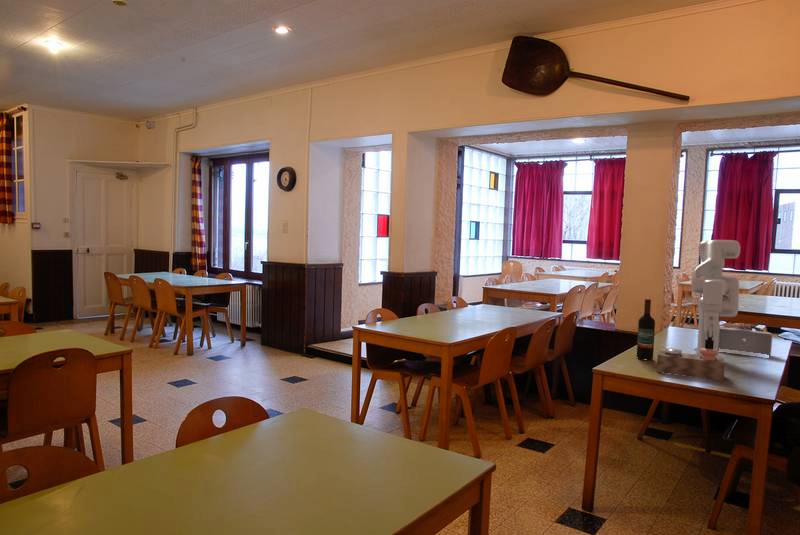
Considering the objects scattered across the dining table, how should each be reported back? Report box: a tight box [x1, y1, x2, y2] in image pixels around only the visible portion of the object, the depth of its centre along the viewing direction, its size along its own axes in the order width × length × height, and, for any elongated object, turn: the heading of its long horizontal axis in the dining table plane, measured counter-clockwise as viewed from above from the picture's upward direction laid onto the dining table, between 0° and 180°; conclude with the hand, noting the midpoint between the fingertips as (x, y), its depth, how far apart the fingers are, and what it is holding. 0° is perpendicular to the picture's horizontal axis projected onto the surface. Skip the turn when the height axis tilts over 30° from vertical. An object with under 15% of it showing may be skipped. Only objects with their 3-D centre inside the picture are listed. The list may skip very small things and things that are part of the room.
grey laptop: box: [719, 326, 773, 359], centre depth 287 cm, size 25×16×12 cm, turn 53°
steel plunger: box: [664, 347, 683, 356], centre depth 244 cm, size 7×7×9 cm
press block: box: [656, 349, 726, 382], centre depth 241 cm, size 26×11×8 cm, turn 61°
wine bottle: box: [636, 298, 656, 361], centre depth 267 cm, size 8×8×30 cm
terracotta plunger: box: [700, 348, 719, 361], centre depth 237 cm, size 7×7×9 cm
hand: (709, 348), depth 237 cm, fingers closed
